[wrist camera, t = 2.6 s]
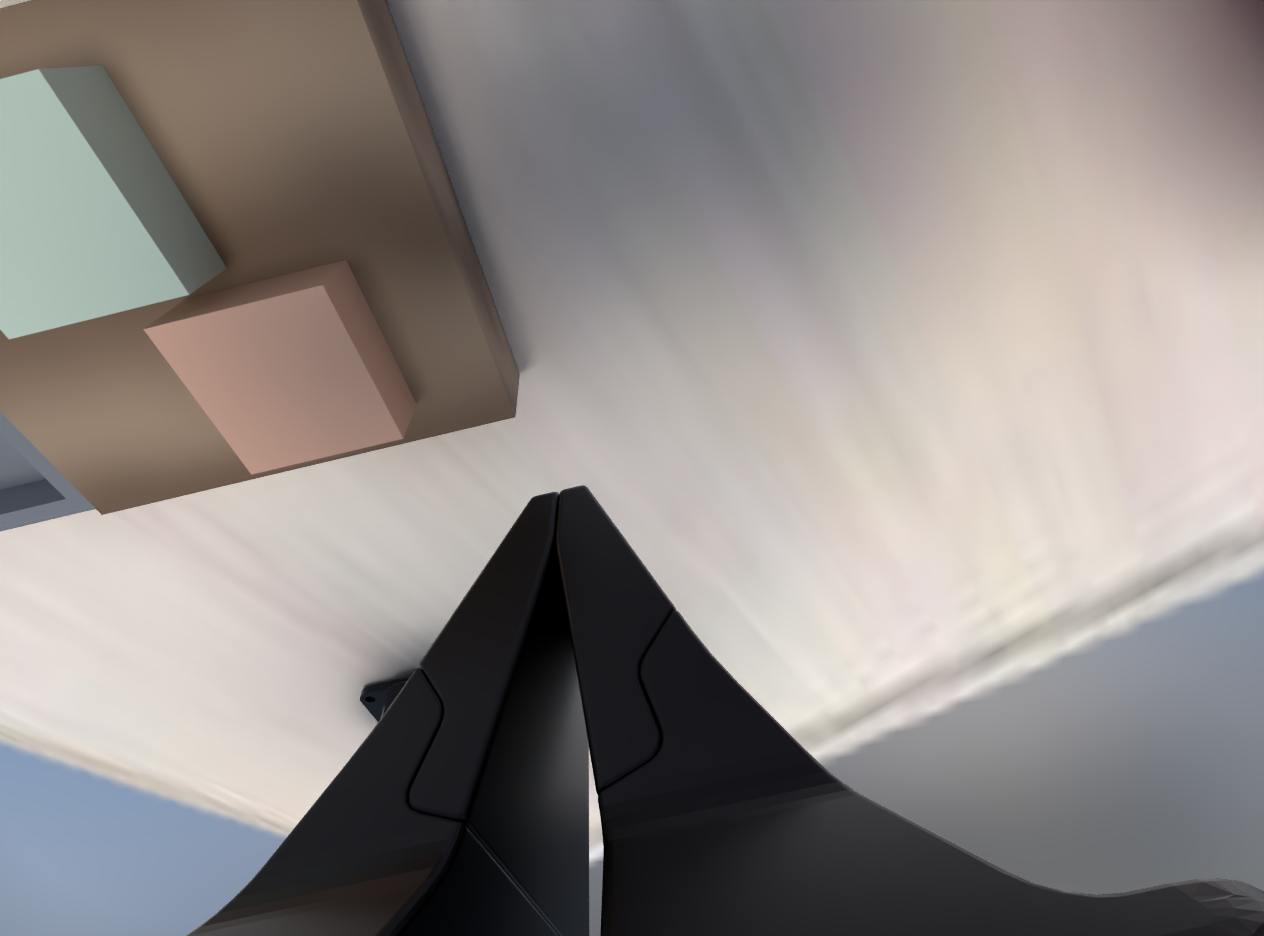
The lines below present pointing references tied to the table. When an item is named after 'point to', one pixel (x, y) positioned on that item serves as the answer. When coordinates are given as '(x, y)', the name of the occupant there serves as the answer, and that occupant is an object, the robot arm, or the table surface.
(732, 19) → the table surface
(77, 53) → the walnut board
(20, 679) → the table surface
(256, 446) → the terracotta tile
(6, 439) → the tray
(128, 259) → the sage tile
